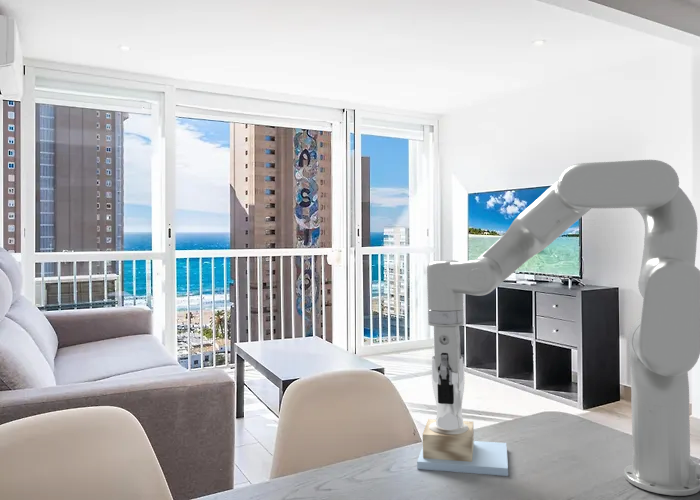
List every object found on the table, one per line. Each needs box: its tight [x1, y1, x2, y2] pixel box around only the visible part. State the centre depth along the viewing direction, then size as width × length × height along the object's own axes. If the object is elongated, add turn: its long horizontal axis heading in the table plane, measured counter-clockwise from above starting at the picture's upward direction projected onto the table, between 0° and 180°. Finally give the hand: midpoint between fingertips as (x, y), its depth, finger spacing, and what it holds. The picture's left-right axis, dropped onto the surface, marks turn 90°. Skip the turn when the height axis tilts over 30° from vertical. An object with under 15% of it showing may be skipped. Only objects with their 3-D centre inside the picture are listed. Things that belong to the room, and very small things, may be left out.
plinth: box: [422, 418, 475, 462], centre depth 117 cm, size 10×10×5 cm
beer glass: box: [431, 355, 466, 431], centre depth 116 cm, size 7×7×15 cm
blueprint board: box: [416, 440, 509, 477], centre depth 116 cm, size 18×14×2 cm
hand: (447, 396), depth 116 cm, fingers open, 9 cm apart
